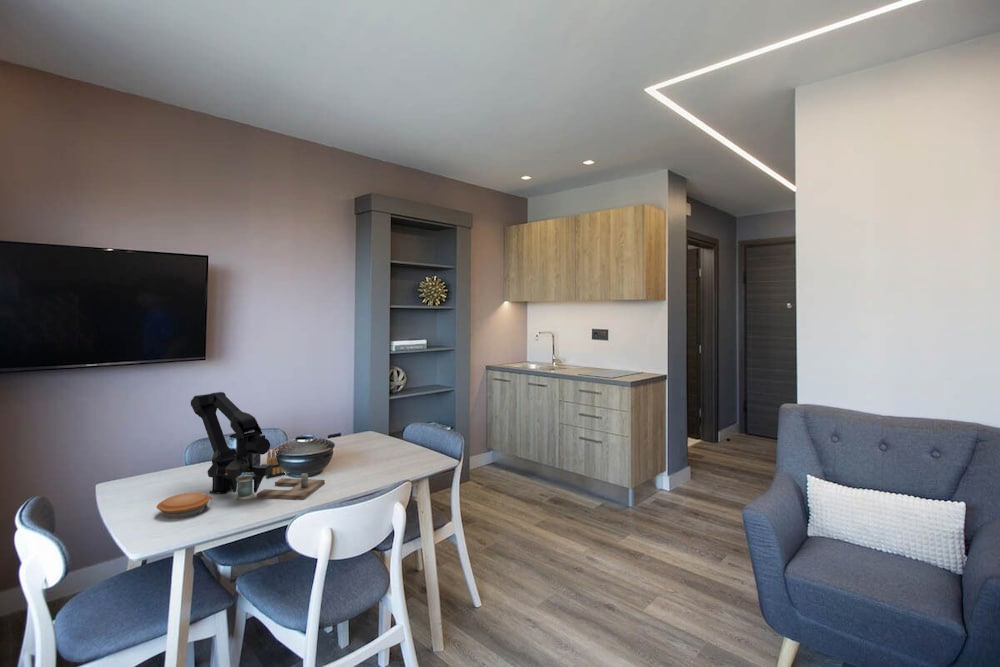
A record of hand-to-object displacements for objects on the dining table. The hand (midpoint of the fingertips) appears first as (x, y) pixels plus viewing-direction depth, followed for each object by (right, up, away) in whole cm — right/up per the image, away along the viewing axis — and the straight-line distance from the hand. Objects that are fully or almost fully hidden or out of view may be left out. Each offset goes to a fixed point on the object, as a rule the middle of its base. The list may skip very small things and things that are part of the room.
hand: (245, 492), depth 182 cm
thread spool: (0, -2, 0) cm, 2 cm away
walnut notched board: (+15, -2, +7) cm, 16 cm away
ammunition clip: (+2, -1, +25) cm, 25 cm away
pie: (-13, -2, -15) cm, 20 cm away
